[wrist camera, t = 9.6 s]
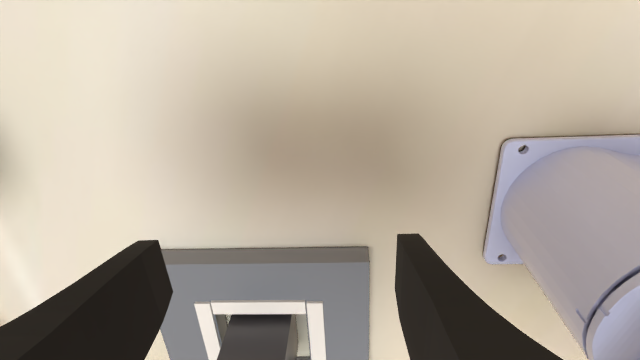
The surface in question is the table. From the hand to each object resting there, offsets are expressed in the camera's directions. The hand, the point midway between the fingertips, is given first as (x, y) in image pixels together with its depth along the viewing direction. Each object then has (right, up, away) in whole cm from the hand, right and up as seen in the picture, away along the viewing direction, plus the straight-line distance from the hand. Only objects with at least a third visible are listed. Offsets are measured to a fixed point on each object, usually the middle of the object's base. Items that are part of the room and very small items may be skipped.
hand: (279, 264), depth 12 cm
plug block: (-2, -8, +16) cm, 18 cm away
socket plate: (-2, -8, +16) cm, 18 cm away
